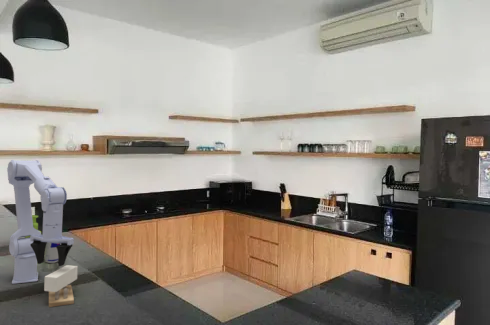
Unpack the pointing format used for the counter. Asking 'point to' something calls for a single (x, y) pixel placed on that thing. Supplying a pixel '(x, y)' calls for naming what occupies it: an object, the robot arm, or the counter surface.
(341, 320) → the counter surface
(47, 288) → the white rectangular block
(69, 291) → the peg stand
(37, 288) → the counter surface
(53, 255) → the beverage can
